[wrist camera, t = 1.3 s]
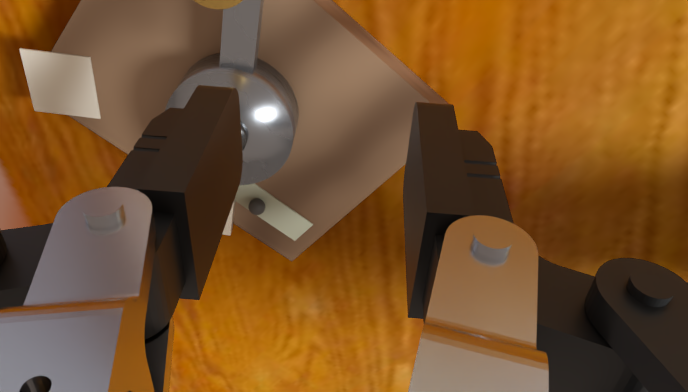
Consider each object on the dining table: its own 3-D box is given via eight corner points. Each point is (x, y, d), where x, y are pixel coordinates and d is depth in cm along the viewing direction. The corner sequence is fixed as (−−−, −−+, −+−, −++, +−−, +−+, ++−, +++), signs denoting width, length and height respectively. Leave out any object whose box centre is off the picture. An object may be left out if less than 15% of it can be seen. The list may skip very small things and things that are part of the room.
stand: (450, 105, 32) (455, 132, 30) (287, 248, 40) (280, 280, 37) (148, -163, 25) (123, -155, 23) (17, 70, 33) (-12, 95, 30)
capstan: (280, 225, 35) (257, 325, 29) (175, 205, 35) (129, 302, 28) (335, -99, 24) (317, -51, 18) (183, -133, 24) (111, -97, 18)
